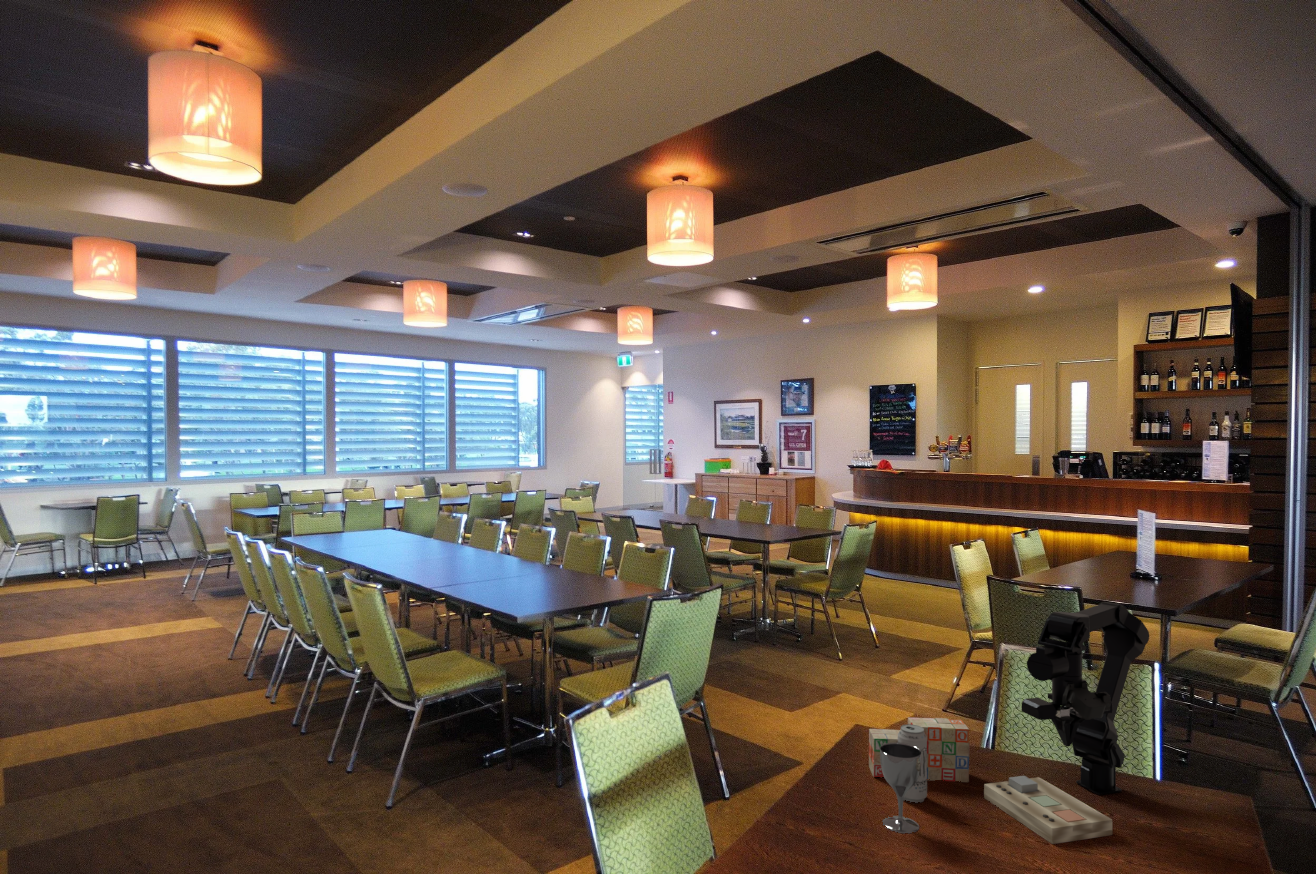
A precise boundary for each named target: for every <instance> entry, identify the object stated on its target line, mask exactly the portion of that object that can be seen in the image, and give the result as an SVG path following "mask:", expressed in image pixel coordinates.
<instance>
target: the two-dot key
mask: <svg viewBox="0 0 1316 874" xmlns="http://www.w3.org/2000/svg"><path fill="white" fill-rule="evenodd" d="M1053 813H1054V814H1055V815H1057V816H1058V817H1060V818H1062V819H1063V820H1065V821H1066V822H1075V821H1082V820H1085V819H1084V818H1083V817H1081V816H1079V815H1078V814H1076V813H1074V812H1073V811H1071V810H1064V811H1057V812H1053Z"/></svg>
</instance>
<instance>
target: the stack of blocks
mask: <svg viewBox="0 0 1316 874" xmlns="http://www.w3.org/2000/svg"><path fill="white" fill-rule="evenodd" d="M907 724H911V725H917V726H920V727H922V728H923V729H924V733H925V735H926V737H927V779H928V780H927V781H935V780H943V781H942V782H955V781H959V782H960V781H961V782H960V783H969V782H970V749H971V748H970V746H971V745H970V737H969V736H970V729H969V727H968V726H967V725H966V724H965V722H964V721H963V720H962V719H949V718H946V717H945V718H943V717H934V718H933V717H931V718H930V717H907ZM900 730H901V729H883V728H882V729H881V728H869V729H868V767H869V770H870V773H871V775H872V777H873V778H874V777H884V775H883V772H882V768H881V762H880V747H881V746H882V745H883V744H886V743H898V733H899V731H900ZM929 779H930V780H929ZM944 780H945V781H944ZM959 782H958V783H959Z"/></svg>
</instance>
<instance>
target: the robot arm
mask: <svg viewBox="0 0 1316 874" xmlns="http://www.w3.org/2000/svg"><path fill="white" fill-rule="evenodd" d="M1097 630H1101V631H1102V632H1103V643H1104V646H1105V649H1106V652H1107V653H1106V656H1105V660H1104V663H1103V666H1102V670H1101V674H1100V676H1099V678H1098V679H1099V680H1098V683H1097V686H1096V690H1095V691H1090V690H1089V688H1088V686H1089V684H1088V682H1087V680H1086V679H1083V651H1084V652H1085V651H1086V650H1087V646H1086V645H1084V643H1085V642H1086V641H1087V640H1088V639H1090V637H1091V632H1094V631H1097ZM1039 635H1040V636H1039V638H1038V640H1037V645H1039V646H1036V647H1035V652H1034V653H1031V654H1030V655H1029V657H1028V658H1027V661H1026V667H1027V671H1028V673H1029V675H1031V676H1032V677H1033V679H1035V680H1037V681H1040V682H1045V681H1051V693H1050V692H1049V693H1047V699H1048V700H1051V701H1046V700H1044V699H1042V698H1040V697H1030V698H1024V699H1023V700H1022V701H1021V712H1022V713H1024V714H1027V715H1029V716H1031V717H1033V718H1035V719H1037V720H1041V721H1046V720H1047V721H1048V720H1050V721H1051V722H1052V723H1053V725H1054V727H1055V730H1056V731H1057V733H1058V736H1059V737H1060V740H1061V742H1062V744H1063V746H1065V747H1067V748H1068V747H1071V746H1072V750H1073V755H1074V756H1075V757H1079V758H1081V765H1080V779H1078V780H1076V781H1075V782H1076V784H1078V785H1079V786H1081V787H1082V788H1085V789H1086V790H1088V791H1090V792H1092V793H1094V794H1096V795H1098V796H1101V795H1108V794H1115V793H1121V792H1122V789H1121V788H1120V787H1118V786H1117V785H1116V782H1117V781H1116V778H1117V777H1116V772H1117V771H1116V770H1117V768H1119V769H1120V768H1122V767H1123V764H1124V761H1125V756H1126V755H1125V752H1124V751H1123V750H1122V748H1121V747H1120V745H1119V743H1118V739H1119V736H1118V735H1119V734H1118V731H1117V728H1116V727H1115V718H1116V714H1117V710H1118V707H1119V704H1120V701H1121V698H1122V695H1123V690H1124V687H1125V684H1126V680H1127V678H1128V674H1129V669H1130V666H1131V663H1132V662H1133V661H1134V660H1136V659H1137V658H1138V657H1140V656H1141V655H1142V654H1143V653H1144V650H1145V648H1146V645H1147V644H1148V643H1149V640H1150V632H1149V630H1148V628H1147V626H1146V625H1145V624H1144V622H1143V621H1142V620H1141V619H1140V618H1139V617H1137V616H1135V615H1134V614H1133V613H1132V612H1129V610H1128V608H1127V607H1126V606H1124V605H1122V604H1120V603H1113V602H1107V601H1103V602H1100V603H1098V604H1097V605H1095V606H1091V607H1088V608H1085V609H1082V610H1079V611H1076V612H1067V611H1053V612H1051V613H1050V614H1049V615H1048V617H1047V618H1046V620H1045V622H1044V625H1043V628H1042V630H1041V633H1040V634H1039Z"/></svg>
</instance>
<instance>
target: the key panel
mask: <svg viewBox="0 0 1316 874" xmlns="http://www.w3.org/2000/svg"><path fill="white" fill-rule="evenodd" d="M1028 778H1029V777H1028ZM1029 779H1031V780H1033V781H1034V782H1036V783H1038V791H1036V792H1028V793H1020V792H1018V791H1017V790H1015V789H1014V788H1012V787H1010V786H1009V780H1006V781H999V782H990V783H984V785H983V788H984V789H983V796H984V797H983V798H984V799H985V800H986V801H988V802H989V801H990V802H989V803H991V804H992V805H994V806H995V805H996V806H995V807H997V808H998V807H999V810H1001V811H1003V812H1005V814H1007V815H1009V816H1010V817H1012V818H1013V819H1014V820H1017V821H1018V822H1019V823H1021V824H1022V825H1024V827H1026V828H1028V829H1029V830H1030V831H1033V832H1034V833H1035V834H1037V835H1038V836H1039V837H1041V838H1043V839H1044V840H1046V841H1047V842H1049V843H1050V844H1051V845H1054V844H1055V845H1056V844H1062V843H1067V842H1074V841H1081V840H1088V839H1094V838H1101V837H1109V836H1113V819H1112V818H1111V817H1109V816H1107V815H1105V814H1103V813H1101V812H1100V811H1099V810H1096V809H1094V808H1093V807H1091V806H1089V805H1087V804H1086V803H1084V802H1083V801H1081V800H1079V799H1077V798H1076V797H1074V796H1072V795H1071V794H1069V793H1067V792H1065V791H1063V790H1062V789H1060V788H1059V787H1057V786H1055V785H1053V784H1051V783H1049V782H1048V781H1047V780H1044V779H1043V778H1041V777H1040V776H1039V777H1030V778H1029ZM1039 796H1048V797H1050V798H1051V799H1053V800H1055V801H1056V802H1058V803H1060V805H1057V806H1050V807H1042V806H1041V805H1039V804H1038V803H1036V802H1034V801H1033V800H1031V799H1030V798H1031V797H1039ZM1064 810H1071V811H1073V812H1074V813H1076V814H1078V815H1079V816H1081V817H1083V818H1084V819H1085V820H1082V821H1075V822H1066V821H1065V820H1063V819H1062V818H1060V817H1058V816H1057V815H1055V814H1054V813H1053V812H1057V811H1064Z"/></svg>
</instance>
